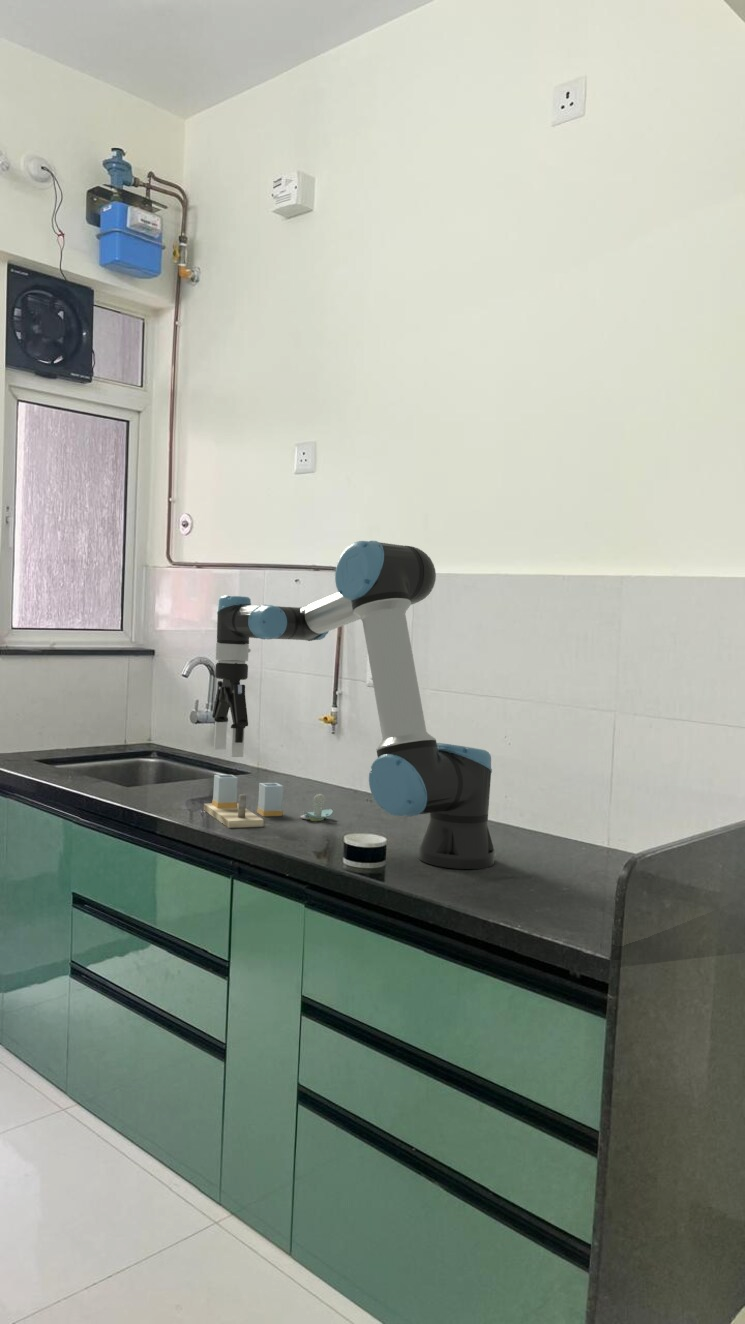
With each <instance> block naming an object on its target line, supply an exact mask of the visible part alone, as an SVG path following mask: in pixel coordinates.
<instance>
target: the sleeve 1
mask: <svg viewBox="0 0 745 1324" xmlns="http://www.w3.org/2000/svg"><path fill="white" fill-rule="evenodd" d="M238 780H239V777H237V776H235V775H233V774H214V775H213V789H212V790H213V792H212V795H213V796H212V799H211V803H212V805H214V806H215V807H217V808H237V803H238V802H237V800H238Z"/></svg>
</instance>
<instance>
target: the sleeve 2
mask: <svg viewBox="0 0 745 1324" xmlns="http://www.w3.org/2000/svg"><path fill="white" fill-rule="evenodd" d="M258 787H259V788H258V800H257V801H258V803H257V807H256V813H257V814H259V815H260V816H262V817H283V813H284V810H283V797H284V795H283V794H284V785H282V784H281V783H278V782H259V784H258Z"/></svg>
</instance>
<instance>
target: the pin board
mask: <svg viewBox="0 0 745 1324" xmlns="http://www.w3.org/2000/svg"><path fill="white" fill-rule="evenodd" d="M204 810H205V811H204ZM203 811H204V812H206V813H208V814H209V815H210V816H212V817H213V818H214V819H215V820H217V821H218V822H220V823H221V824H222V823H223V824H222V825H224V826H225V827H227V828H228V829H231V828H233V829H234V828H259V827H264V821H265V819H264V818H262V817H260V816H258V815H257V814H255V813H254V812H252V811H250V810H249V809H247V794H244V793H243V794H238V802H237V808H217V807H215V806H214V805H212V802H211V803H203Z"/></svg>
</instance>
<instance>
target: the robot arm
mask: <svg viewBox="0 0 745 1324" xmlns="http://www.w3.org/2000/svg"><path fill="white" fill-rule="evenodd" d="M335 567H336V568H335V573H334V576H335V577H334V579H335V582H334V583H335V587H336V589H337V592H336V591H335V592H334V593H332V594H330V595H327V596H324V597H323V598H319V599H318V600H315V601H313V602H311V603H309V604H306V605H304V606H300V607H296V606H293V607H292V606H279V605H278V606H277V605H272V604H255V605H252V602H251V598H250V597H248V596H240V595H222V596H220V597H219V600H218V607H217V608H218V609H217V611H216V614H217V621H216V624H217V625H216V646H215V647H216V648H215V660H216V661H217V662H216V663H215V673H214V675H215V678H216V679H219V680H218V681H217V689H216V695H215V700H214V704H213V709H212V715H211V716H212V719H214V739H213V740H214V741H213V745H214V746H213V749H214V750H227V731H228V722H229V718H228V713H229V710H230V715H231V719H232V724H231V725H230V729H231V738H230V739H231V741H230V742H231V743H230V744H231V745H230V757H231V758H243V757H244V750H245V749H244V748H245V747H244V745H245V740H244V739H245V728H246V727H248V726H249V721H248V720H249V718H248V710H247V702H246V685H245V684H241V681H244V680H247V679H248V677H249V665H248V663H246V662H249V653H251V648H249V647H250V646H249V645H250V638H252V639H260V640H296V641H306V642H312V641H319V640H320V641H321V640H323V639H324V638H326V636H327V635H328V634H329V632H330V631H333V630H335V629H338V628H341V627H343V626H345V625H349V624H351V623H354V622H356V621H359V620H361V622H362V627H363V633H364V637H365V644H366V645H365V646H366V650H367V657H368V661H369V668H370V674H371V679H372V686H373V690H374V697H375V702H376V709H377V716H378V720H379V727H380V733H381V737H382V740H381V742H380V743H379V745H378V746H377V748H376V753H377V754H376V755H377V758H376V759H375V760H374V761H373V763H371V766H370V769H371V770H370V771H369V773H368V785H369V790H370V794H371V795H372V798H373V799H374V801H375V803H376V804H377V805H378V807H379V808H381V809H383V810H384V812H385V813H387V814H389V815H392V816H395V817H414V816H418V815H424V814H426V815H427V814H429V819H428V823H427V825H426V828H425V831H424V833H423V836H422V838H421V840H420V844H419V846H418V847H419V848H418V859H419V860H420V861H422V862H423V863H426V864H429V865H433V866H437V867H441V868H449V869H458V870H477V869H485V868H489V867H491V866H493V865H494V864H495V849H494V844H493V840H492V836H491V833H490V828H489V825H488V824H489V823H488V821H489V809H490V796H491V795H490V794H491V779H492V772H493V769H492V755H491V753H489V751H487V750H485V749H482V748H481V749H480V748H475V747H469V746H465V745H464V746H463V745H457V744H451V743H442V742H437V740H436V738H435V737H434V736H432V735H431V734H429V733H428V732H427V727H426V722H425V715H424V711H423V705H422V699H421V694H420V689H419V683H418V677H417V672H416V667H415V665H416V664H415V661H414V654H413V650H412V649H413V648H412V645H411V638H410V632H409V628H408V621H407V616H406V613H407V611H408V609H409V608H410V606H412V605H414V604H417V603H420V602H422V601H423V600H424V599H426V598H427V597H429V595H430V594H431V592H432V591H433V589H434V587H435V583H436V580H437V579H436V578H437V576H436V575H437V573H436V568H435V564H434V563H433V560H432V559H431V557H430V556H429V555H428V554H427V553H426V552H425V551H423V550H422V549H420V548H418V547H416V546H412V545H411V546H410V545H400V544H394V543H393V544H392V543H388V542H382V541H381V542H379V541H377V540H369V541H368V540H359V541H356V542H355V541H354V542H353V543H351V544H349V545H348V546H347V547H346V548H345V549H344V550H343V551H342V553H341V554H340V558H339V559H338V561H337V563H336V566H335Z"/></svg>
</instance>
